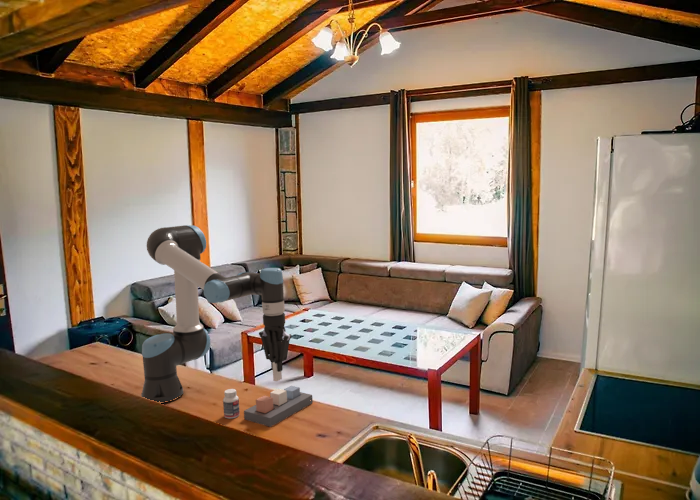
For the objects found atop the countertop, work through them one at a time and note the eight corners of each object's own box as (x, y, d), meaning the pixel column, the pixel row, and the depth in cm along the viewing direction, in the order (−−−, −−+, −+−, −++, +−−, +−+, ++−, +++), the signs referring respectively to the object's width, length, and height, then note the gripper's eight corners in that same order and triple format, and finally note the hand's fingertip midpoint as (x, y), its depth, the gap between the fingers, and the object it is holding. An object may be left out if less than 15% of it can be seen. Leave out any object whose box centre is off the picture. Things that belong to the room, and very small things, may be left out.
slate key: (284, 400, 187) (283, 389, 187) (291, 396, 191) (291, 385, 190) (293, 402, 185) (292, 391, 185) (300, 398, 188) (299, 387, 188)
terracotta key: (256, 411, 176) (255, 399, 175) (264, 406, 179) (264, 395, 179) (265, 413, 173) (264, 401, 173) (273, 408, 177) (272, 397, 176)
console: (244, 419, 177) (243, 410, 176) (287, 396, 195) (286, 389, 194) (270, 426, 170) (270, 418, 170) (312, 402, 188) (312, 394, 188)
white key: (270, 403, 181) (270, 392, 181) (278, 399, 185) (277, 388, 184) (279, 405, 179) (278, 394, 179) (287, 401, 182) (286, 390, 182)
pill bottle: (235, 419, 177) (234, 394, 176) (221, 418, 178) (219, 393, 177) (242, 412, 182) (240, 388, 181) (228, 412, 183) (226, 387, 182)
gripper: (252, 314, 179) (256, 380, 182) (281, 317, 172) (285, 386, 175) (266, 309, 185) (270, 373, 188) (295, 312, 178) (299, 379, 181)
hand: (277, 379), depth 181 cm, fingers closed
